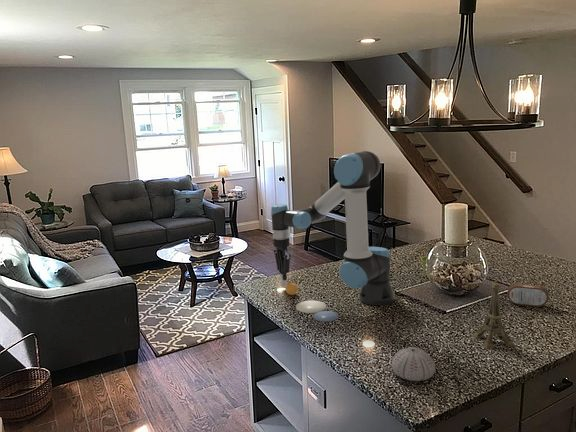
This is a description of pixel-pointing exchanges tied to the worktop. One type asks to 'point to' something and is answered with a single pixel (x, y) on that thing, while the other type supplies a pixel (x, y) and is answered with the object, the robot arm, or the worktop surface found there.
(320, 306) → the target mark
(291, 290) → the ball
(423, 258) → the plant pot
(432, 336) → the worktop surface
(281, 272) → the robot arm
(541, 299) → the tin
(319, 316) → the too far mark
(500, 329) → the eiffel tower
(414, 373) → the sea urchin shell
